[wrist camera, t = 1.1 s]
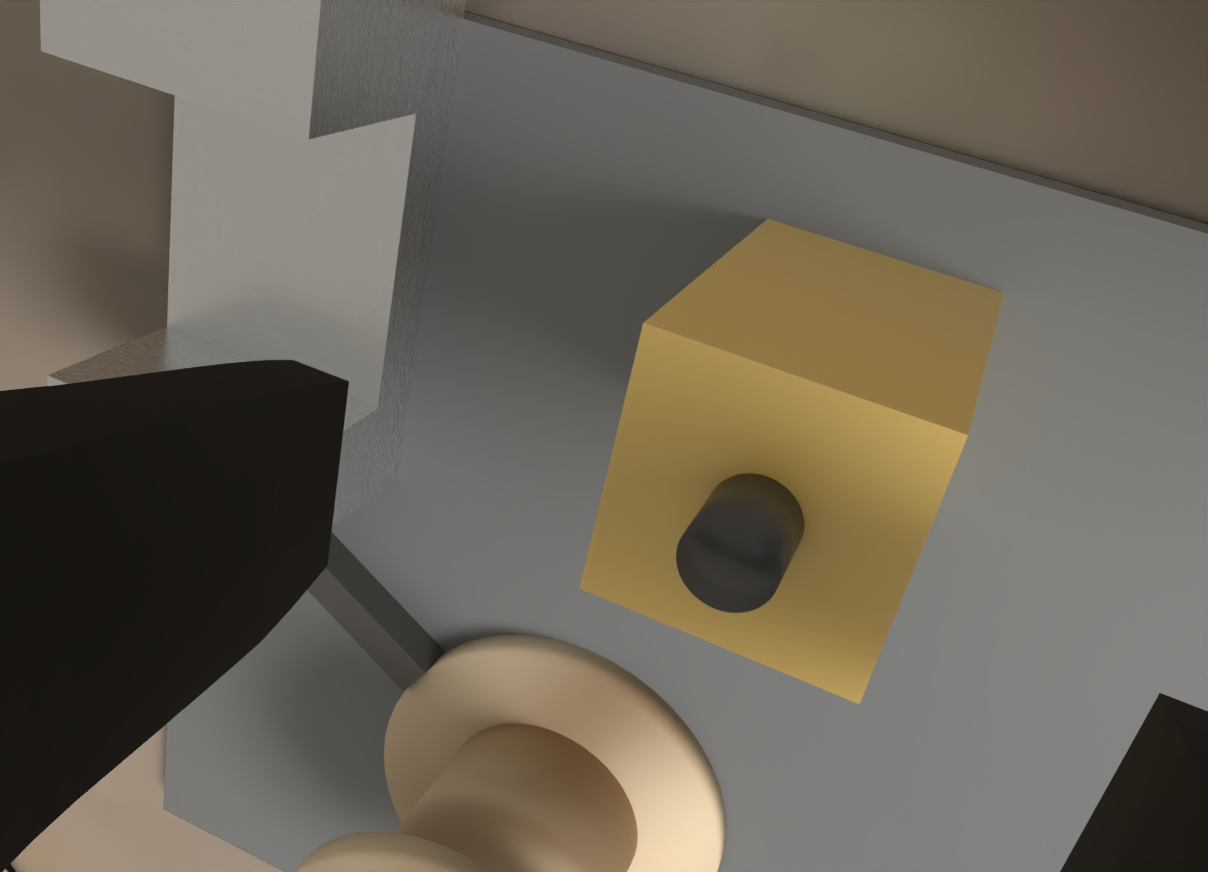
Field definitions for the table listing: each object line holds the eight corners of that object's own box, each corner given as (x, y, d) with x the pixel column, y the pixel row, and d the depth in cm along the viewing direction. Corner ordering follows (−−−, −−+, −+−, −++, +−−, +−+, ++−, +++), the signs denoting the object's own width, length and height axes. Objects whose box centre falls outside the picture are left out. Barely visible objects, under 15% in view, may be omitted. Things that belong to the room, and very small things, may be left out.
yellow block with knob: (1003, 292, 15) (956, 479, 9) (921, 502, 16) (841, 763, 11) (768, 218, 15) (606, 353, 10) (709, 425, 17) (541, 635, 12)
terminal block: (468, -19, 16) (321, -11, 13) (397, 476, 19) (270, 573, 16) (228, -86, 17) (38, -94, 14) (202, 397, 20) (49, 474, 17)
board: (1517, 312, 13) (1556, 346, 12) (969, 1192, 21) (963, 1261, 20) (224, -58, 18) (165, -58, 16) (181, 792, 26) (140, 830, 25)
